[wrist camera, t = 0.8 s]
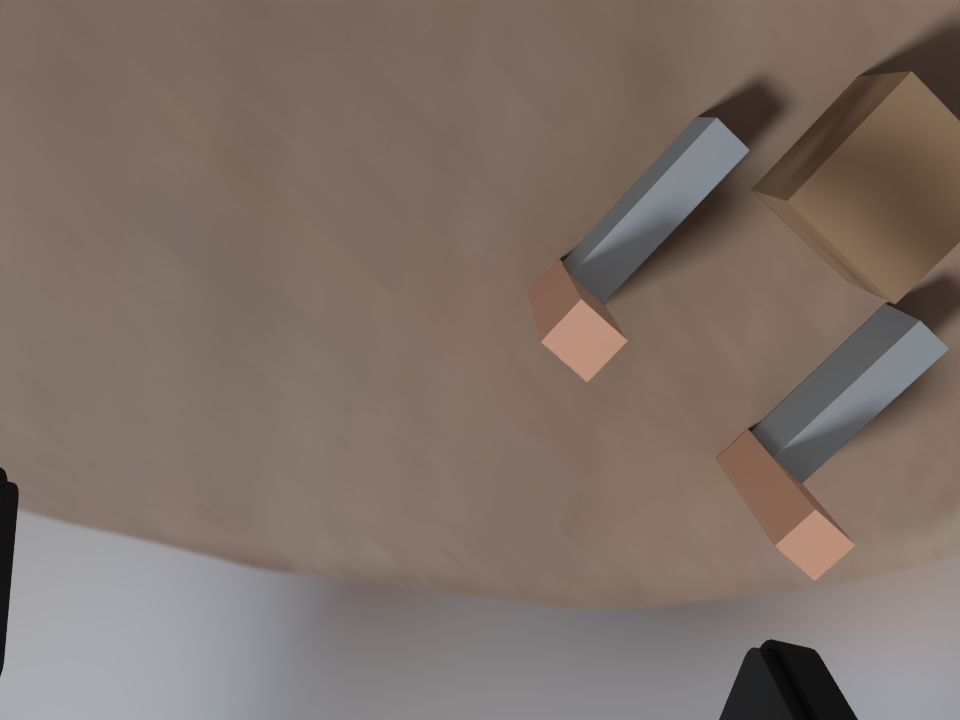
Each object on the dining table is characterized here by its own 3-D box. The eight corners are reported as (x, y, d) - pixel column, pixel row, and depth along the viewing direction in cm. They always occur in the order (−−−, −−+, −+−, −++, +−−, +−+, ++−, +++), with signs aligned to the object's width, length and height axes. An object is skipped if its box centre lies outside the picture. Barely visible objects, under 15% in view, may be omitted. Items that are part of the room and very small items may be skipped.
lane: (693, 113, 34) (755, 114, 26) (915, 333, 36) (1030, 392, 29) (528, 292, 36) (540, 341, 28) (748, 487, 39) (814, 580, 31)
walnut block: (856, 76, 34) (911, 71, 29) (952, 174, 35) (1019, 183, 30) (749, 190, 35) (787, 201, 31) (845, 281, 36) (895, 304, 32)
